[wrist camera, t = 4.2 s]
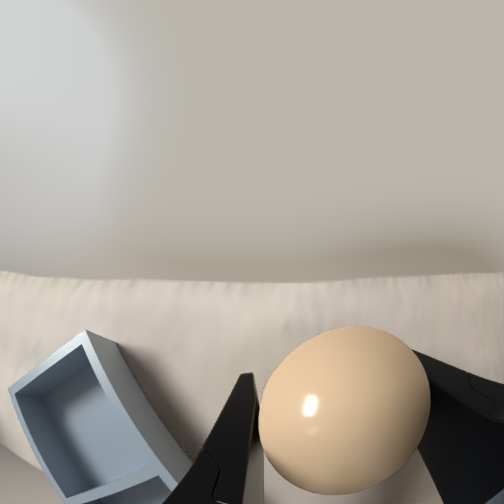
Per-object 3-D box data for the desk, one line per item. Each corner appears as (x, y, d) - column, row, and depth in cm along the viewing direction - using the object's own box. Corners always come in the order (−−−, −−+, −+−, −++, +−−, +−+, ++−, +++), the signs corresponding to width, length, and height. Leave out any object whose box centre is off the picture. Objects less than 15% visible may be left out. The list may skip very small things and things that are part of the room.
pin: (350, 382, 14) (452, 368, 5) (311, 445, 13) (372, 512, 4) (287, 348, 16) (321, 295, 7) (246, 409, 14) (220, 446, 5)
